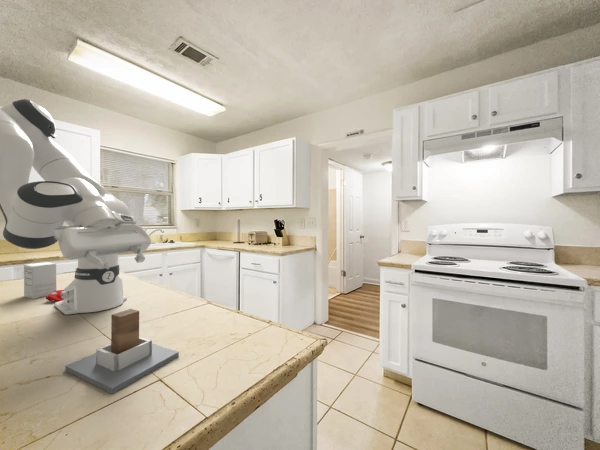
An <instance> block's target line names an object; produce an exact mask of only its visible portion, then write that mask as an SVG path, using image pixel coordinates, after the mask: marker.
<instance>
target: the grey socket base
mask: <svg viewBox="0 0 600 450" xmlns="http://www.w3.org/2000/svg"><path fill="white" fill-rule="evenodd" d="M95 351H96V352H95V353H92V354H90V355H88V356H85V357H83V358H80V359H78V360H76V361H74V362H71V363H69V364H66V365H65V366H64V370H65V372H67V373H70V374H71V375H73V376H75V377H76V378H79V379H81V380H83V381H86V382H88V383H89V384H92V385H93V386H96V387H97V388H99V389H102V390H103V391H106V392H108V393H110V394H114V393H116V392H118V391H120V390H122V389H123V388H126V387H127V386H128V385H131V384H133V383H134V382H135V381H138V380H140V378H143V377H145V376H147V375H148V374H150V373H152V372H154V371H155V370H157V369H159V368H160V367H162V366H163V365H165V364H168V363H169V362H171V361H172V360H175V359H176V358H178V357H179V356H180V355H179V351H177V350H173V349H171V348H169V347H168V348H167V347H165V346H162V345H158V344H155V343H153V341H152V339H148V338H146V337H141V336H139V345H138V346H135V347H133V348H131V349H129V350H126V351H124V352H122V353H120V354H117V355H116V354H114V353H111V343H108V344H106V345H104V346H101V347H99V348H97V349H96V350H95Z"/></svg>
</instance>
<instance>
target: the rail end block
mask: <svg viewBox="0 0 600 450" xmlns="http://www.w3.org/2000/svg"><path fill="white" fill-rule="evenodd" d="M110 317H111V318H110V319H111V320H110V322H111V323H110V324H111V327H110V328H111V329H110V331H111V333H110V335H111V336H110V339H111V341H110V344H111V353H114V354H116V355H117V354H120V353H122V352H124V351H126V350H129V349H131V348H133V347H135V346H138V345H139V337H140V310H137V309H133V308H129V309H125V310H122V311H119V312H114V313H112V314H111V315H110Z"/></svg>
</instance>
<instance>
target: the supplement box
mask: <svg viewBox="0 0 600 450" xmlns="http://www.w3.org/2000/svg"><path fill="white" fill-rule="evenodd" d="M23 286H24V287H23V296H24V297H26V298H29V299H32V300H33V299H38V298H42V297H43V298H44V297H47V296H48V295H49V294H50V293H52V292H53V291H57V263H56V262H55V263H54V262H49V261H45V262H37V263H29V264H23Z"/></svg>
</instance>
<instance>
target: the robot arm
mask: <svg viewBox="0 0 600 450" xmlns="http://www.w3.org/2000/svg"><path fill="white" fill-rule="evenodd" d="M56 130H57V126H56V123H55V120H54V119H53V117H52V115H51V114H50V113H49V111H47V109H46V108H44V107H42V106H41V104H37V103H35V102H34V101H32V100H30V99H27V98H23V99H19V100H16V101H15V100H13V101H12V103H11V104H8V105H5V106H2V107H0V211H1V213H2V215H3V218H4V220H5V223H4V224H5V225H4V228H3V230H2V237H4V239H5V240H6V241H7V242H8V243H10V244H12V245H14V246H15V247H19V248H22V249H26V250H28V249H29V250H40V249H43V248H48V247H50V246H52V245H55V244H56V243H57V242H58V246H59V250H60V252H61V255H62V257H64V258H65V259H67V260H70V261H72V260H77V268H75V273H74V279H73V280H72V281H71V282H70V283H69V284H68V285H67V286H66V287H65V288H64V289H63V290H64V291H63V292H61V298H64V300H62V301H59V302H54V307H55V308H56V309H58V310H59V311H60V312H61V313H62V314H64V315H72V314H83V313H84V314H85V313H95V312H101V311H105V310H106V311H107V310H109V309H113V308H114V309H115V308H116V307H119V306H120V305H123V303H124V301H126V300H127V298H128V297H127V295H125V294H124V285H123V278H121V277H120V276H119V275H120V269H121V267H120V265H119V255H120V254H127V253H134V254H136V256H135V257H134V260H135V261H136V263H137V264H138V263H143V262H144V261H145V260H146V258H145V257H146V256H145V255H144V254H143V253H144V251H147V249H148V248H149V247H150V246H151V243H152V239H151V237H150V235H149V234H148V233H147V231H146V230H145V229H144V228H143V227H142V226H141V225H139V224H137V223H138V222H137V218H136V217H134V216H130V213H131V211H130V208H129V206H128V205H127V204H126V202H123V201H122V200H120V199H118V198H117V197H116V196H115V195H113V193H111V192H110V191H109V190H108V189H106V188H105V187H104V186H102V185H101V184H100V183H99V182H97V181H96V180H95V179H94V178H93V177H91V176H90V174H89V173H88V172H87V171H86V170H85V169H84V168H83V167H82V166H81V165H80V164H79V163H78V162H77V161H76V159H75V158H74V157H73V156H72V155H71V154H70V153H69V152H67V150H66V149H64V148H63V147H62V146H60V145H59V144H58V143H56V142H54V141H53V140H52V139H56V137H57V135H56ZM32 168H33V169H34V170H35V171H36V173H37V174H38V175H39V176H40V177H41V179H43V180H41V181H40V180H39V181H32V182H30V181H29V180H30V175H31V172H32V171H31V170H32ZM64 223H66V224H67V225H68V226H67V225H64Z"/></svg>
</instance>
